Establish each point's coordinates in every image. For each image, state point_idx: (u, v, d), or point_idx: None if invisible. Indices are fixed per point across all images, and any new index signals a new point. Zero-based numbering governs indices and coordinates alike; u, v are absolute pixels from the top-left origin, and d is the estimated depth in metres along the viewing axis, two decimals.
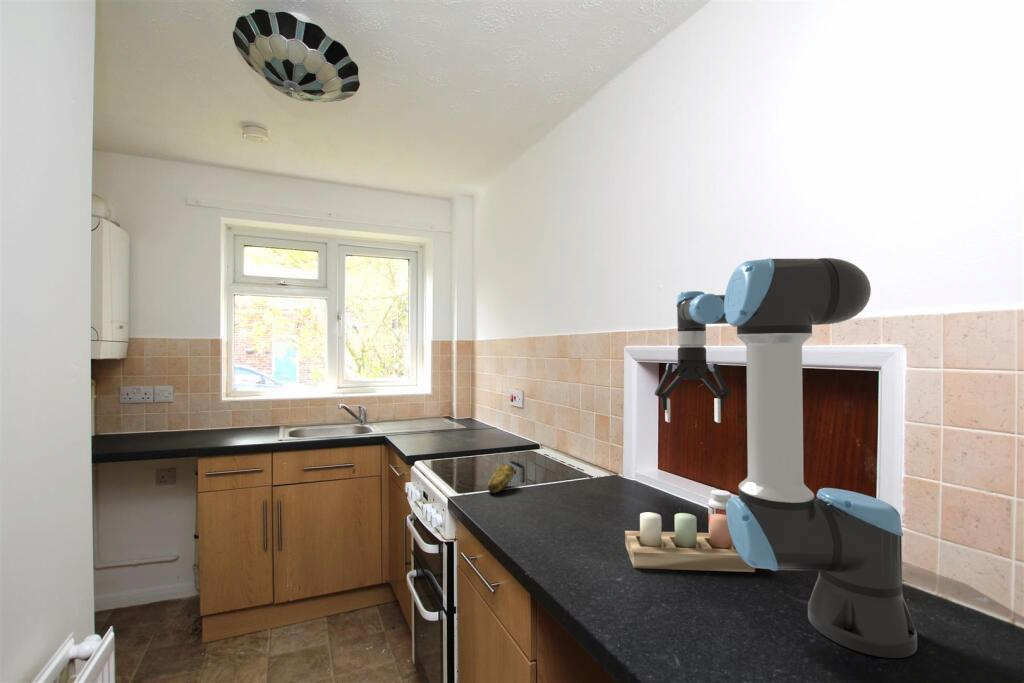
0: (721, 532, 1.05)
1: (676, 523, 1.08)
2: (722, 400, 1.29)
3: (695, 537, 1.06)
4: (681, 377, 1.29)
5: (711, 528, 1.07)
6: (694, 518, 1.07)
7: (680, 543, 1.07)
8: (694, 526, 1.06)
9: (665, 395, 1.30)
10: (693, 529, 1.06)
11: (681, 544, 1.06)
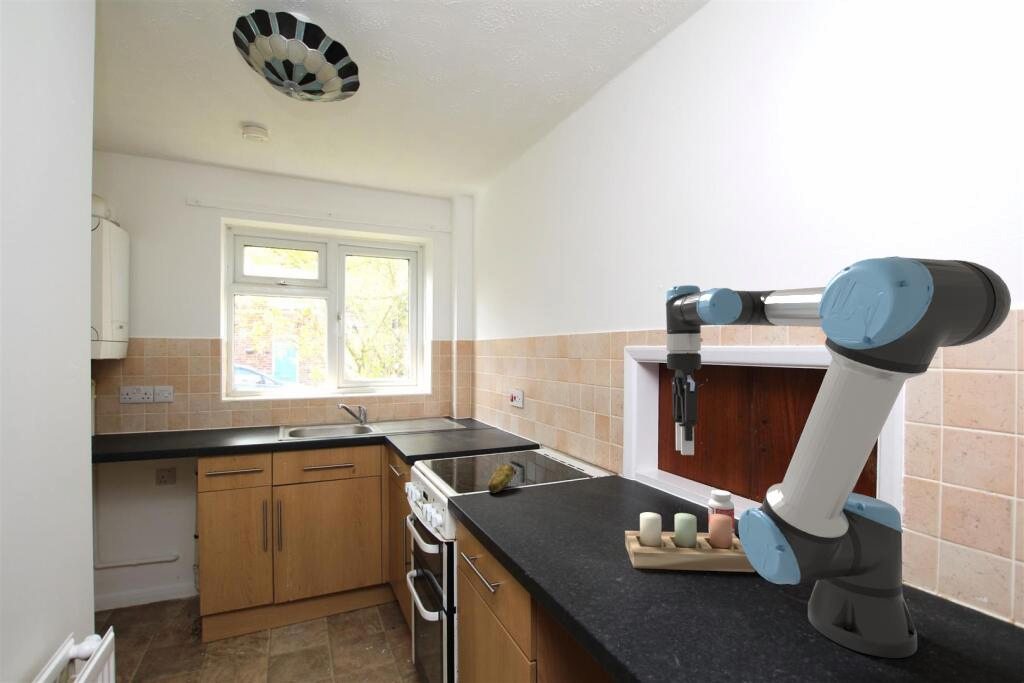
0: (721, 532, 1.05)
1: (676, 523, 1.08)
2: (685, 428, 1.05)
3: (695, 537, 1.06)
4: (674, 391, 1.11)
5: (711, 528, 1.07)
6: (694, 518, 1.07)
7: (680, 543, 1.07)
8: (694, 526, 1.06)
9: (675, 418, 1.12)
10: (693, 529, 1.06)
11: (681, 544, 1.06)
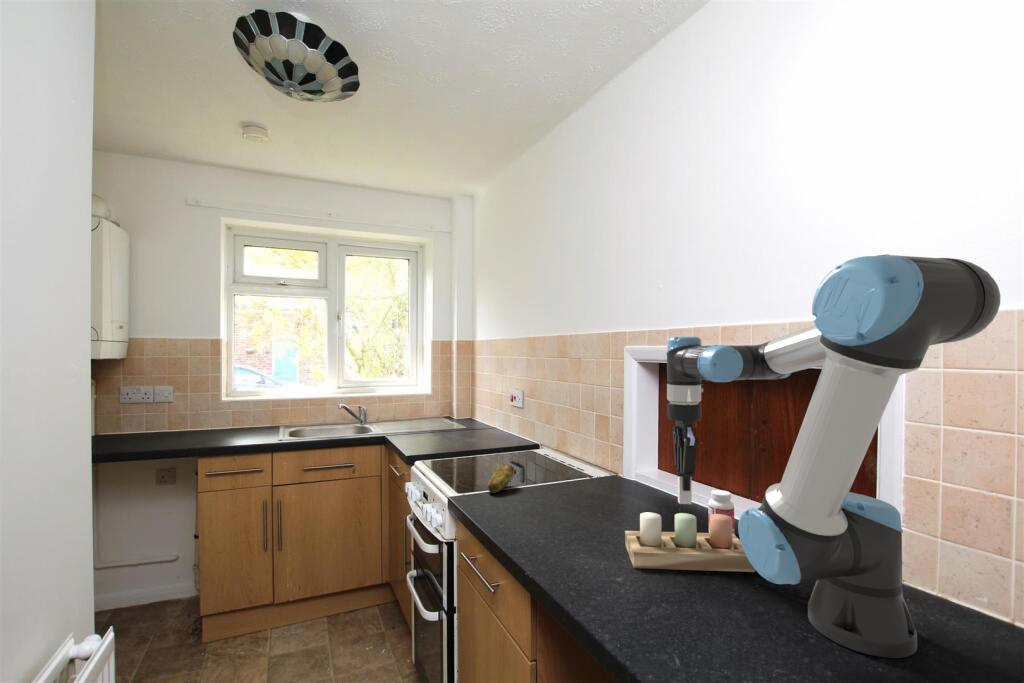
0: (721, 532, 1.05)
1: (676, 523, 1.08)
2: (683, 478, 1.07)
3: (695, 537, 1.06)
4: (675, 441, 1.10)
5: (711, 528, 1.07)
6: (694, 518, 1.07)
7: (680, 543, 1.07)
8: (694, 526, 1.06)
9: (677, 469, 1.10)
10: (693, 529, 1.06)
11: (681, 544, 1.06)
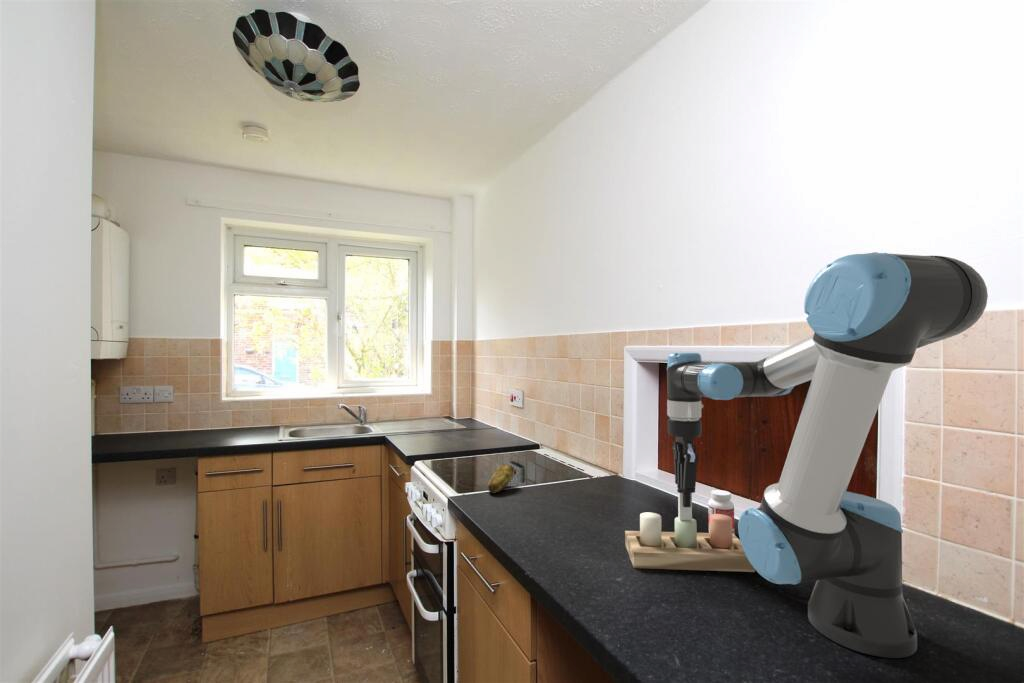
0: (721, 532, 1.05)
1: (676, 527, 1.08)
2: (683, 495, 1.07)
3: (695, 541, 1.06)
4: (675, 456, 1.10)
5: (711, 528, 1.07)
6: (694, 522, 1.07)
7: (680, 547, 1.07)
8: (694, 530, 1.06)
9: (677, 485, 1.10)
10: (693, 532, 1.06)
11: None
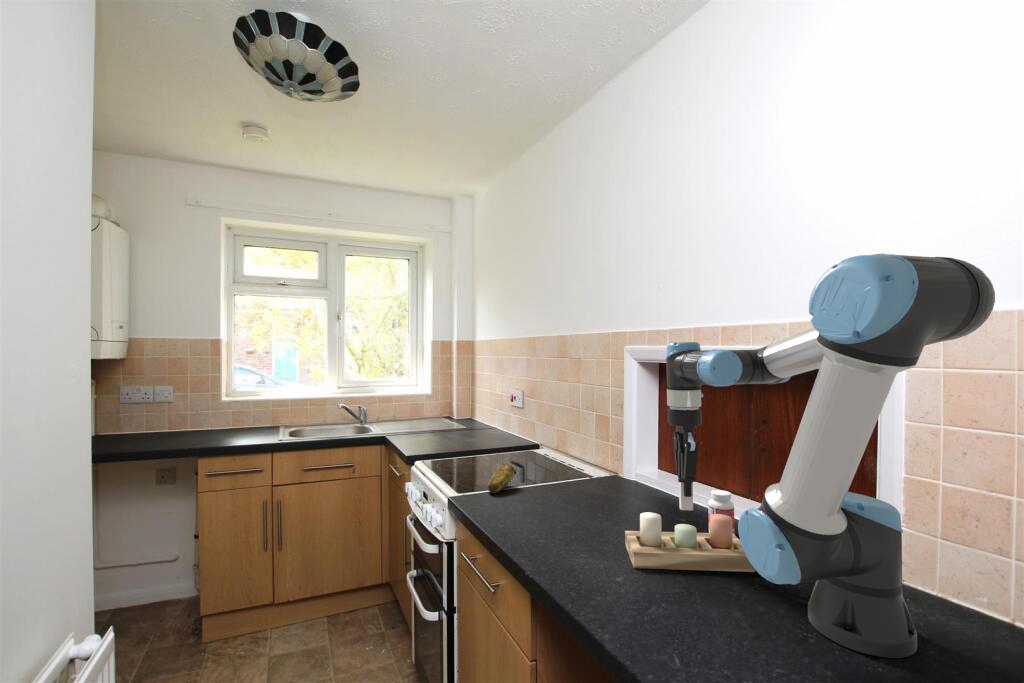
0: (721, 532, 1.05)
1: (676, 534, 1.08)
2: (684, 484, 1.07)
3: None
4: (676, 446, 1.10)
5: (711, 528, 1.07)
6: (694, 529, 1.07)
7: None
8: (694, 537, 1.06)
9: (678, 475, 1.10)
10: (693, 540, 1.06)
11: None
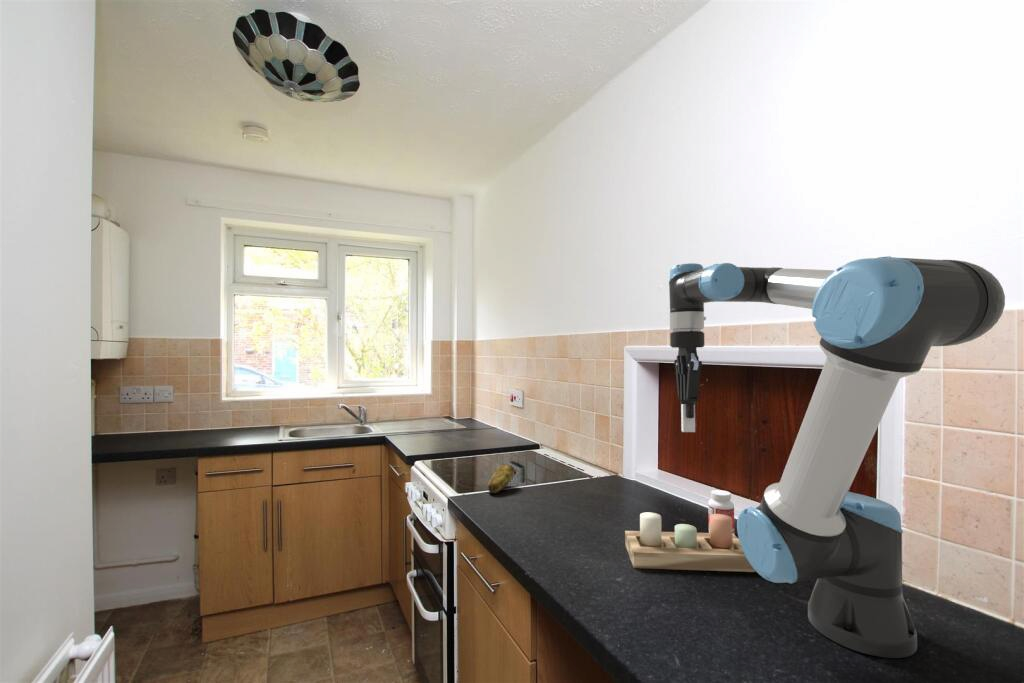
0: (721, 532, 1.05)
1: (676, 534, 1.08)
2: (687, 406, 1.07)
3: None
4: (678, 370, 1.10)
5: (711, 528, 1.07)
6: (694, 529, 1.07)
7: None
8: (694, 537, 1.06)
9: (680, 398, 1.10)
10: (693, 540, 1.06)
11: None
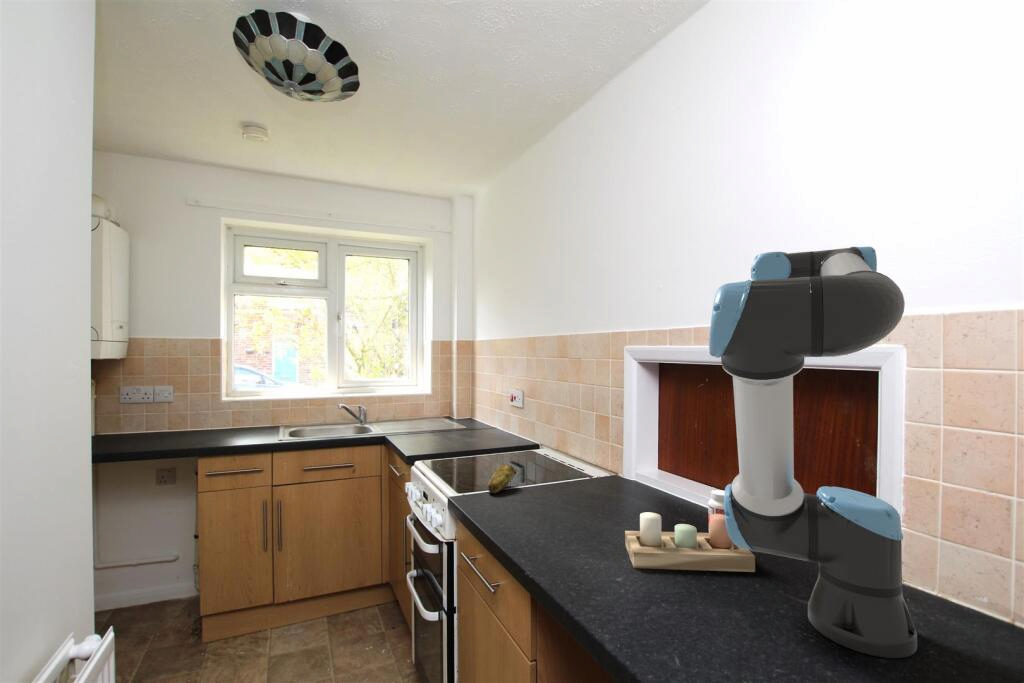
0: (721, 532, 1.05)
1: (676, 534, 1.08)
2: None
3: None
4: None
5: (711, 528, 1.07)
6: (694, 529, 1.07)
7: None
8: (694, 537, 1.06)
9: None
10: (693, 540, 1.06)
11: None
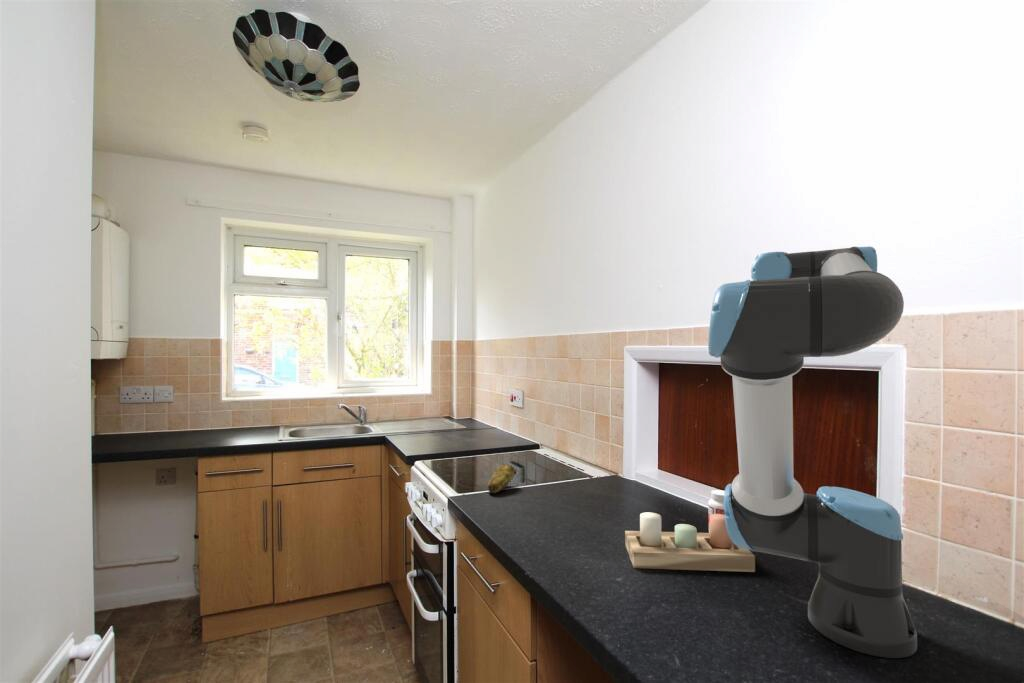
0: (721, 532, 1.05)
1: (676, 534, 1.08)
2: None
3: None
4: None
5: (711, 528, 1.07)
6: (694, 529, 1.07)
7: None
8: (694, 537, 1.06)
9: None
10: (693, 540, 1.06)
11: None
